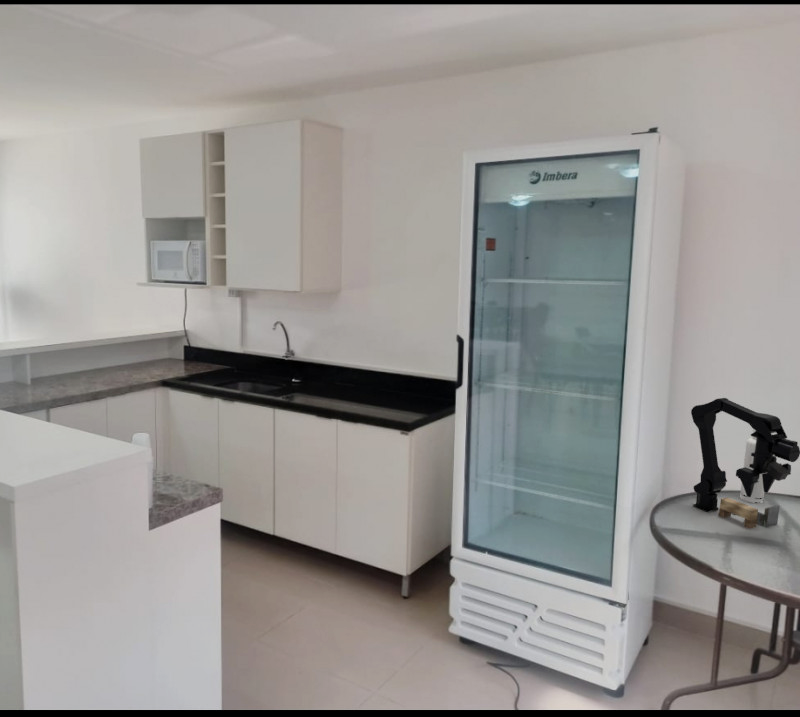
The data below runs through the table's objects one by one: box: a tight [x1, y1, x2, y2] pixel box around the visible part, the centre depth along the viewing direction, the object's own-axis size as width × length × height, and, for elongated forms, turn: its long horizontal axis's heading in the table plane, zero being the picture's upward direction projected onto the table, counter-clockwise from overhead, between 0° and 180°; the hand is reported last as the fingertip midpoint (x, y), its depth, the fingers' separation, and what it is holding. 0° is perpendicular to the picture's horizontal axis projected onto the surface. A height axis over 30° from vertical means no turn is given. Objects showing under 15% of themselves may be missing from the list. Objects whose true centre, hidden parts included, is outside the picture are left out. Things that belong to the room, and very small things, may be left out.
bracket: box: [731, 503, 780, 528], centre depth 233 cm, size 15×7×7 cm, turn 27°
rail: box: [719, 497, 759, 521], centre depth 229 cm, size 12×4×4 cm, turn 27°
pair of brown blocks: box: [718, 507, 758, 530], centre depth 230 cm, size 12×4×3 cm, turn 27°
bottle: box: [739, 428, 766, 503], centre depth 248 cm, size 8×8×28 cm
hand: (757, 494), depth 222 cm, fingers open, 9 cm apart
